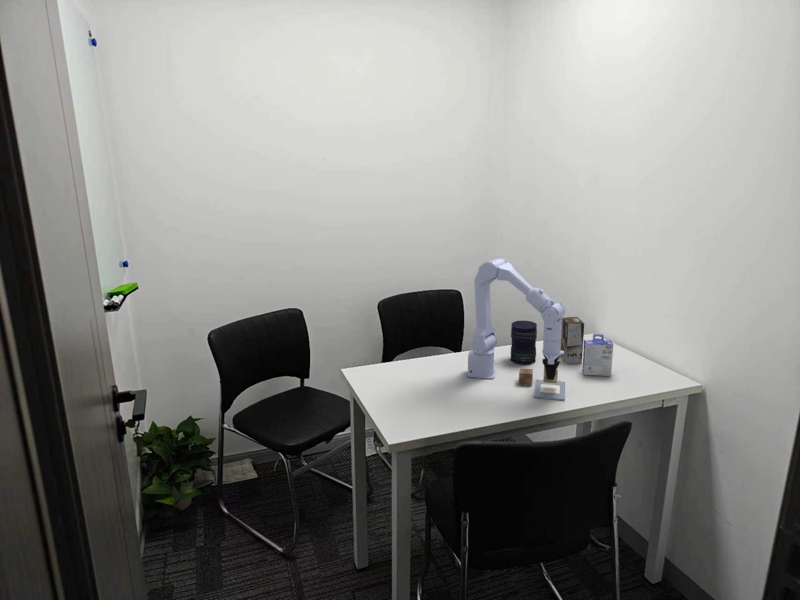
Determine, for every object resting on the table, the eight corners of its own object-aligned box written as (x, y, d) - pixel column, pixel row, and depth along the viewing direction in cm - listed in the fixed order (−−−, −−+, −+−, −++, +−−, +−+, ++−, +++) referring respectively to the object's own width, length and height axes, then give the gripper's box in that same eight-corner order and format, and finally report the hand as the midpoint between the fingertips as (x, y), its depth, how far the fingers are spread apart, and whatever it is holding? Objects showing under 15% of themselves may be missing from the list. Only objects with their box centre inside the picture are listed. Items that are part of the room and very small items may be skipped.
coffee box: (582, 363, 206) (585, 323, 202) (565, 363, 206) (567, 324, 202) (575, 354, 215) (577, 316, 211) (559, 355, 215) (561, 316, 211)
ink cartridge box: (609, 370, 199) (612, 333, 195) (612, 376, 194) (614, 338, 190) (581, 369, 201) (583, 332, 197) (583, 375, 196) (585, 337, 192)
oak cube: (543, 382, 182) (543, 369, 181) (544, 377, 186) (544, 364, 185) (557, 383, 181) (557, 371, 179) (557, 378, 185) (558, 365, 183)
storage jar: (540, 363, 208) (541, 326, 204) (517, 366, 206) (517, 329, 202) (528, 354, 217) (529, 319, 213) (506, 357, 215) (506, 321, 211)
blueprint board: (533, 397, 179) (533, 396, 179) (536, 381, 192) (536, 379, 192) (565, 400, 176) (565, 398, 176) (565, 383, 189) (565, 381, 189)
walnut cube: (518, 384, 190) (519, 373, 189) (519, 379, 194) (520, 368, 193) (531, 385, 189) (532, 374, 187) (532, 380, 193) (532, 369, 192)
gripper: (564, 347, 171) (562, 386, 175) (564, 332, 185) (563, 369, 188) (541, 345, 173) (540, 384, 177) (543, 331, 187) (542, 367, 190)
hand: (550, 376), depth 183 cm, fingers closed on oak cube, 4 cm apart
